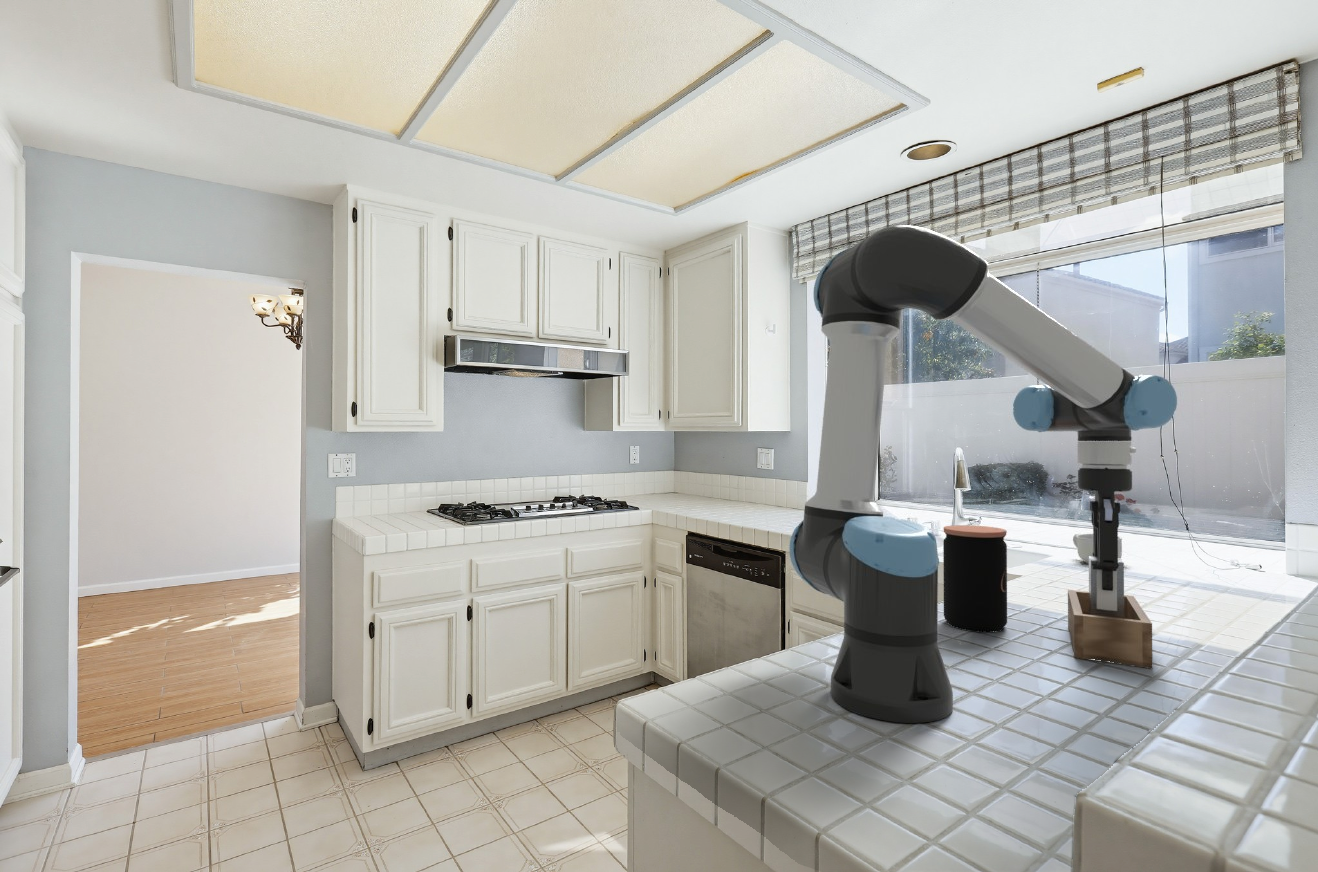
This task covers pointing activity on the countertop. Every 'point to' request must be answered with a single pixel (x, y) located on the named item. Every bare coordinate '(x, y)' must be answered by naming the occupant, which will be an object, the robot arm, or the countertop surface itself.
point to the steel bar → (1093, 591)
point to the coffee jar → (975, 577)
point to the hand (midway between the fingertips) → (1105, 605)
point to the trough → (1110, 632)
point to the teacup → (1090, 546)
